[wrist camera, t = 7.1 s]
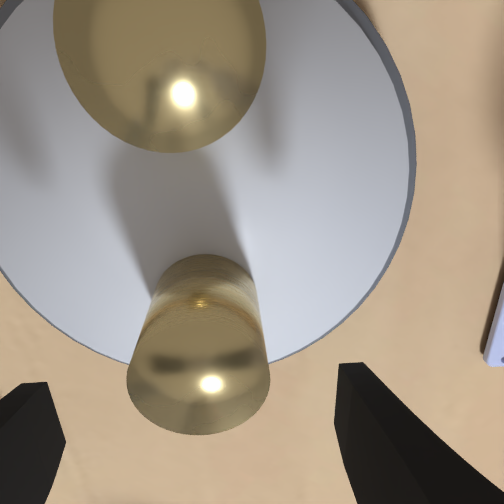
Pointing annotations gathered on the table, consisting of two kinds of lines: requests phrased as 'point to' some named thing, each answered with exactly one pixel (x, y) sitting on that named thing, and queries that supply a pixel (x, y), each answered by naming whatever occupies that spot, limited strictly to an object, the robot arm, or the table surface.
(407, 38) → the table surface
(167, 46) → the spacer
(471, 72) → the table surface
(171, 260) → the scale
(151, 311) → the cylinder
